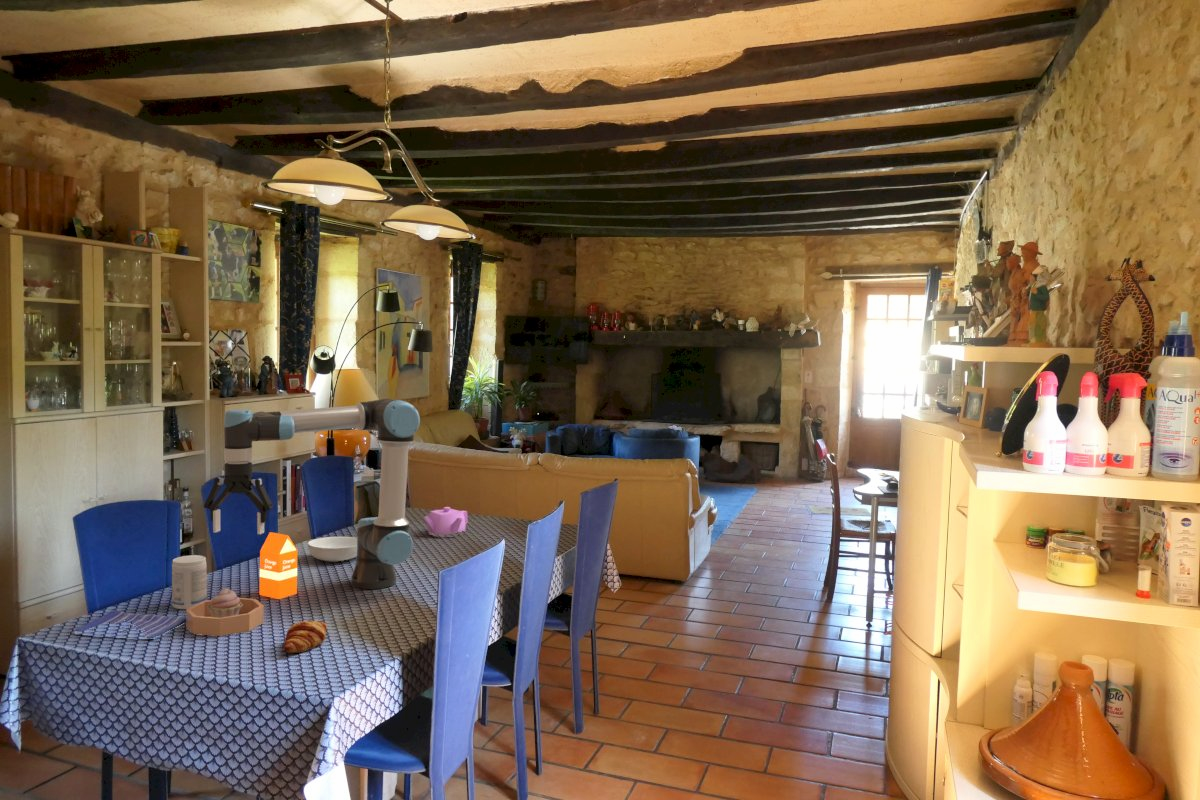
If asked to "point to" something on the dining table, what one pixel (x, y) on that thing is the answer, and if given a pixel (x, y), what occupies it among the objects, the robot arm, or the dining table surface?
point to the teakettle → (446, 521)
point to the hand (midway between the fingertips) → (238, 532)
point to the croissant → (304, 636)
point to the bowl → (224, 619)
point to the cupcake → (225, 604)
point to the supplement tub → (189, 581)
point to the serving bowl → (333, 548)
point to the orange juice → (278, 567)
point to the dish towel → (138, 622)
